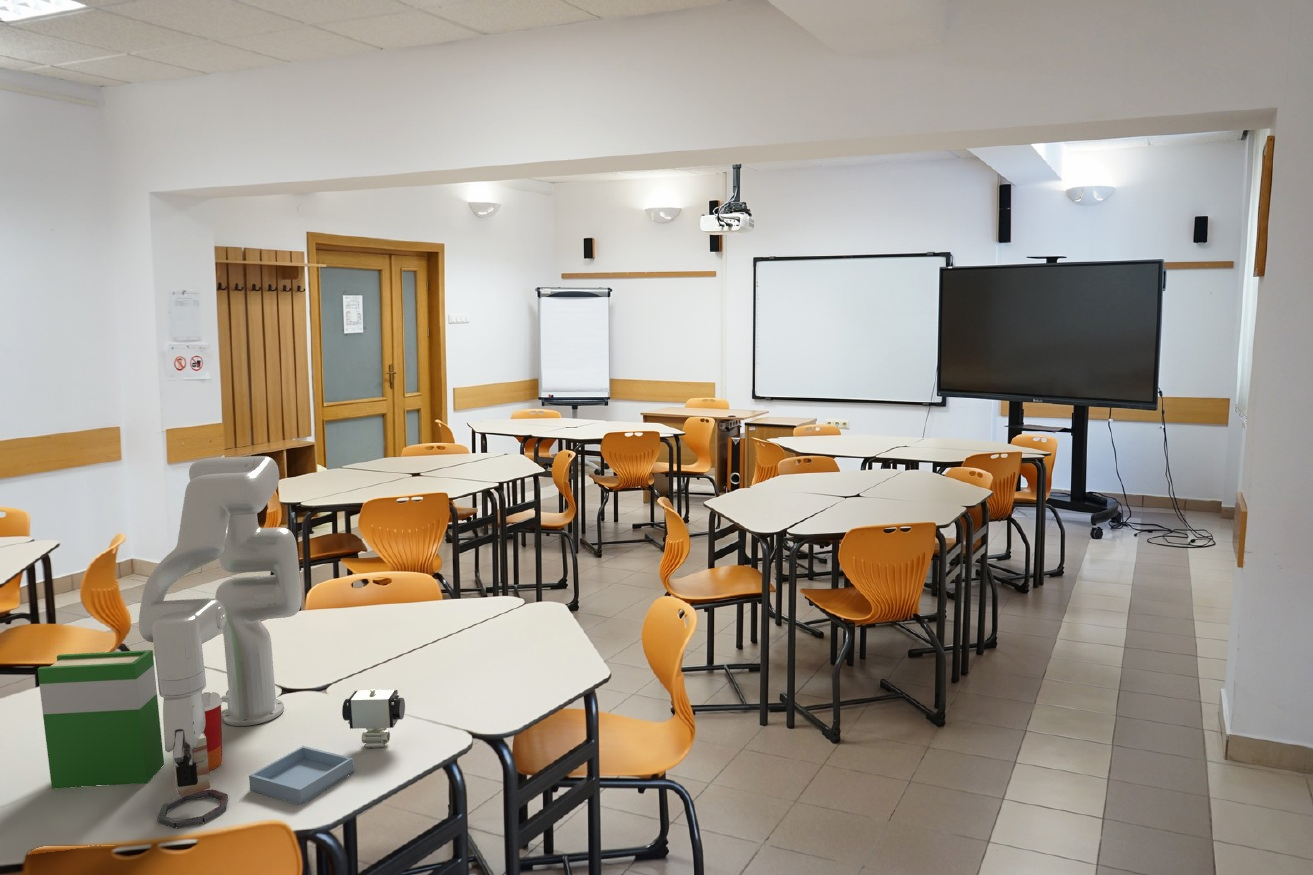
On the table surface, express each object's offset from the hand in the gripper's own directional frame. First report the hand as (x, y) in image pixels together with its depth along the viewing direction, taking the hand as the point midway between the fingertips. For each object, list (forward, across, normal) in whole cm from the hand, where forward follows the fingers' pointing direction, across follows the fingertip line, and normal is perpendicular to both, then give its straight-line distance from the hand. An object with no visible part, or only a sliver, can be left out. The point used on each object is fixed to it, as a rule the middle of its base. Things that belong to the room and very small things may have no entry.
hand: (192, 774), depth 171 cm
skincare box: (+3, 0, 0) cm, 3 cm away
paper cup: (+7, -17, -2) cm, 19 cm away
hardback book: (+7, -18, -20) cm, 27 cm away
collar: (+6, +1, 0) cm, 7 cm away
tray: (+7, -5, +18) cm, 20 cm away
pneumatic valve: (+7, -17, +31) cm, 36 cm away
